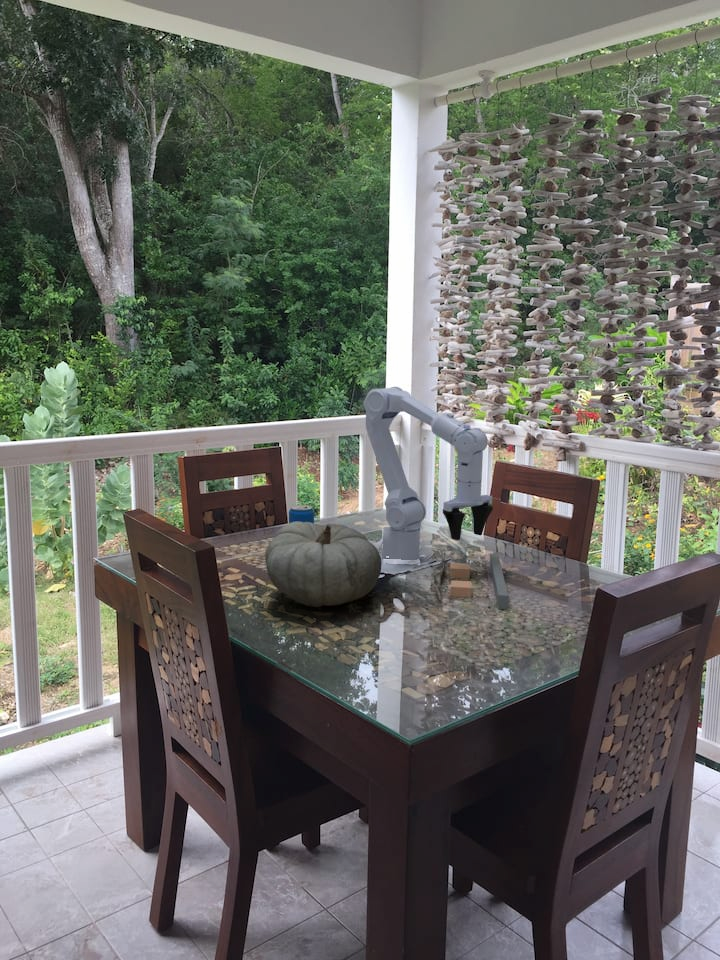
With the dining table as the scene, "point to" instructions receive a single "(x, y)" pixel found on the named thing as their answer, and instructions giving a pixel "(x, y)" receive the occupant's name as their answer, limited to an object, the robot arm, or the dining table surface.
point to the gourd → (322, 563)
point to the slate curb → (498, 582)
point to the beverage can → (301, 514)
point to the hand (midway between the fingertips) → (466, 536)
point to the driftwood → (439, 575)
